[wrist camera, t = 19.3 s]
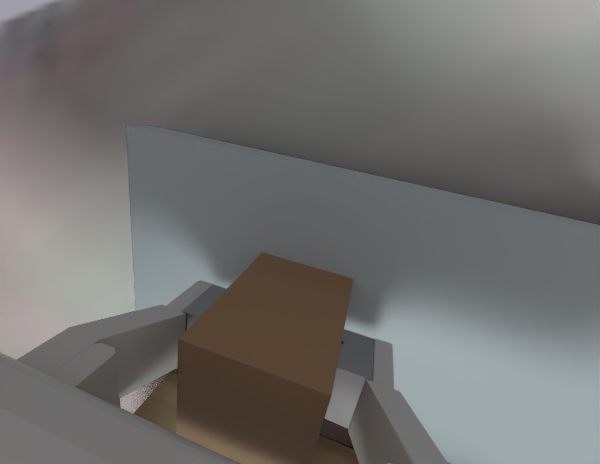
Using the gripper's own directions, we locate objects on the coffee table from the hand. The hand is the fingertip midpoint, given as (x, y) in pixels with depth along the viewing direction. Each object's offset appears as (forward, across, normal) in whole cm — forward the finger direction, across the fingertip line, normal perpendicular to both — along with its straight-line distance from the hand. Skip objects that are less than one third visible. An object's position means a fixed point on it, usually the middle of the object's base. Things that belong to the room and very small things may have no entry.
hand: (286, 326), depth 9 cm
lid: (+2, -2, 0) cm, 3 cm away
